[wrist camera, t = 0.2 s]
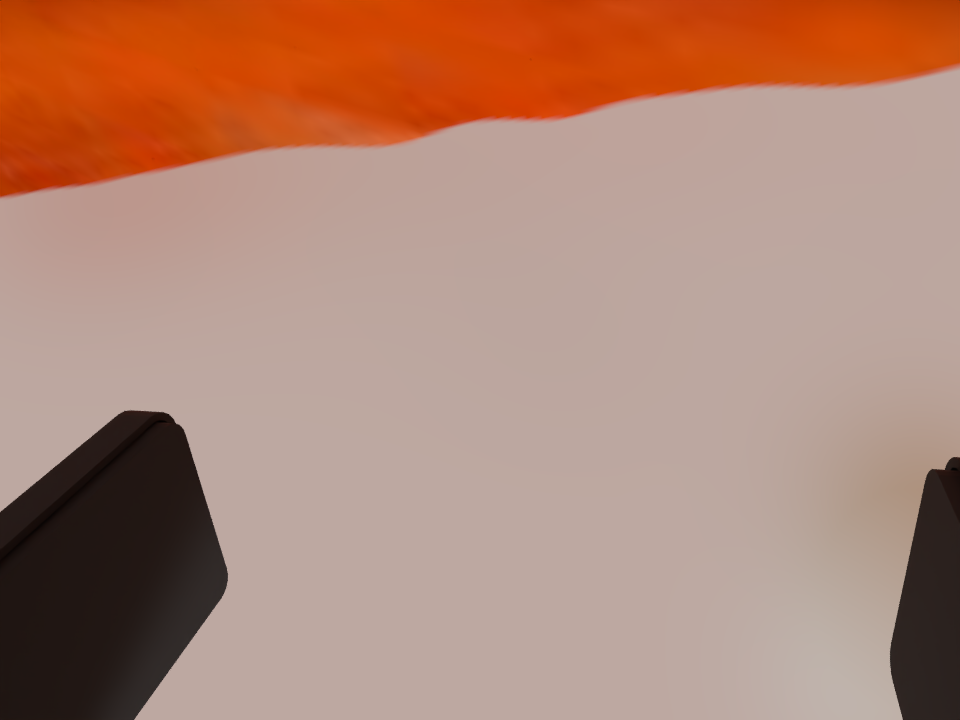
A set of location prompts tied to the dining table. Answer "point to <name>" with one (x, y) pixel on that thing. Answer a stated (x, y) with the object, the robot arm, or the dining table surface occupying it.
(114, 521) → the robot arm
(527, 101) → the dining table surface
